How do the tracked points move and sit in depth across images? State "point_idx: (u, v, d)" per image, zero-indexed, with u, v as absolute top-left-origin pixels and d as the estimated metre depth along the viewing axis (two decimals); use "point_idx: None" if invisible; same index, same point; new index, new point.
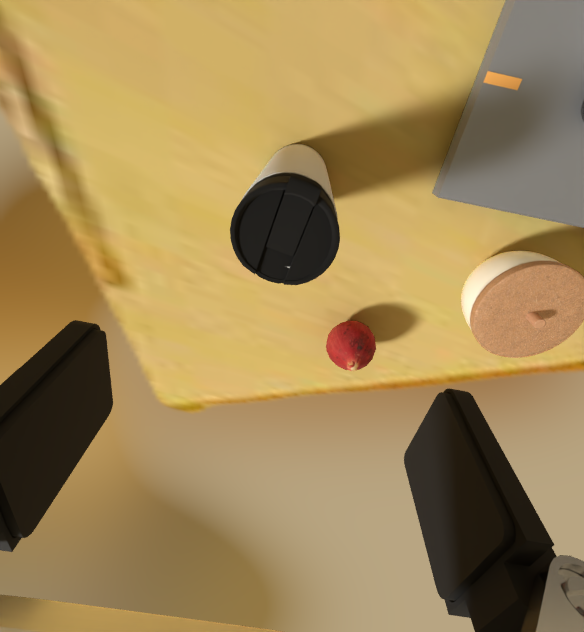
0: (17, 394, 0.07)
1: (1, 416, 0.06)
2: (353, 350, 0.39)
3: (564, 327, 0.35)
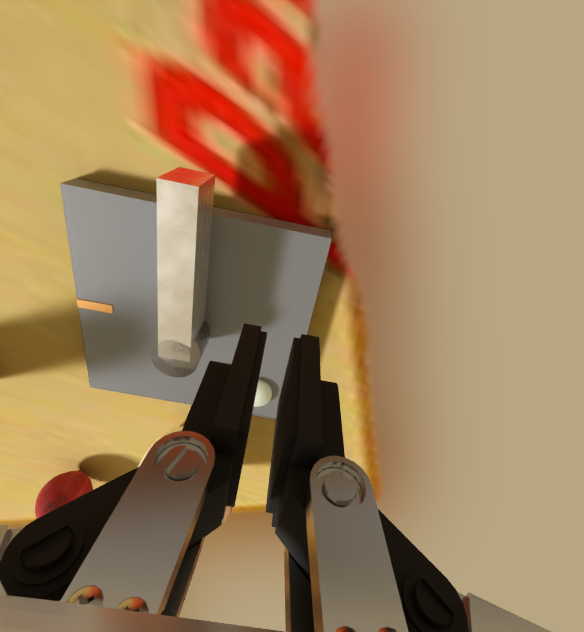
0: (243, 385, 0.08)
1: (244, 403, 0.07)
2: None
3: None
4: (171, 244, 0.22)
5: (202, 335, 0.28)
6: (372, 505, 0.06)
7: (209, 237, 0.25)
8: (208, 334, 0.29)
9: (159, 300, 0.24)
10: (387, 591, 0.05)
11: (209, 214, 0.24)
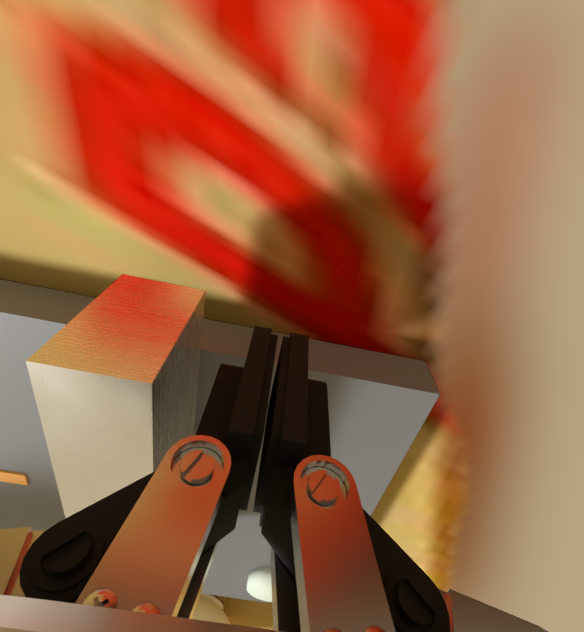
0: (256, 389, 0.08)
1: (258, 406, 0.07)
2: None
3: None
4: (93, 485, 0.09)
5: None
6: (356, 503, 0.06)
7: (194, 403, 0.12)
8: None
9: None
10: (367, 591, 0.05)
11: (192, 373, 0.11)
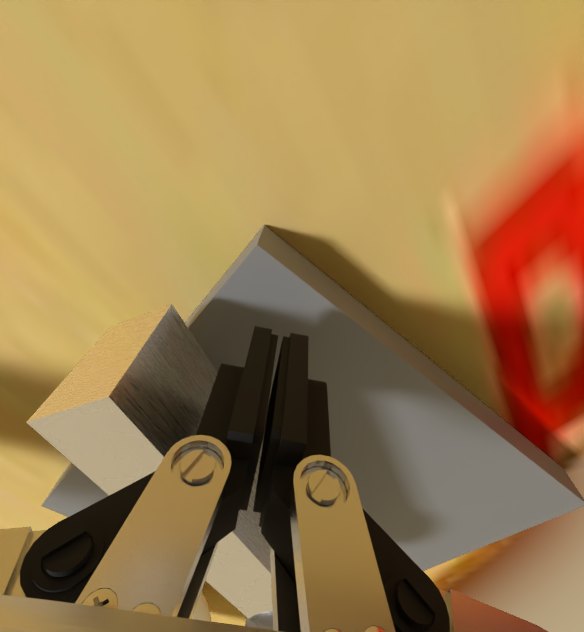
0: (256, 389, 0.08)
1: (258, 407, 0.07)
2: None
3: None
4: None
5: None
6: (356, 503, 0.06)
7: None
8: None
9: None
10: (367, 591, 0.05)
11: (203, 379, 0.11)
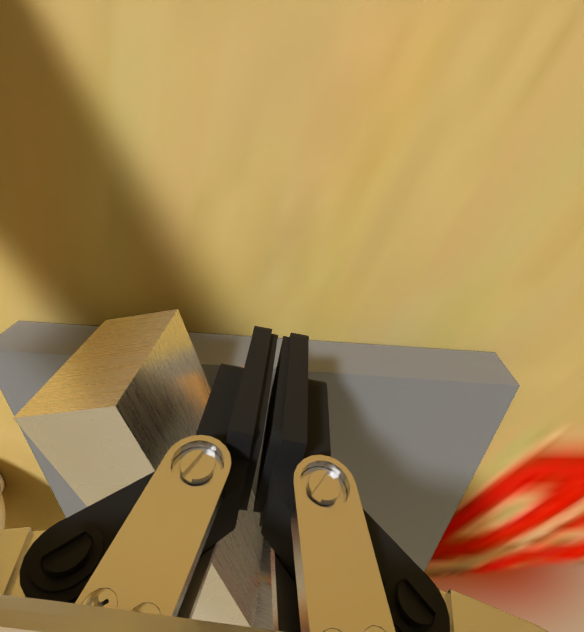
0: (256, 389, 0.08)
1: (258, 407, 0.07)
2: None
3: None
4: None
5: (269, 565, 0.15)
6: (356, 503, 0.06)
7: None
8: None
9: None
10: (367, 591, 0.05)
11: (196, 389, 0.11)
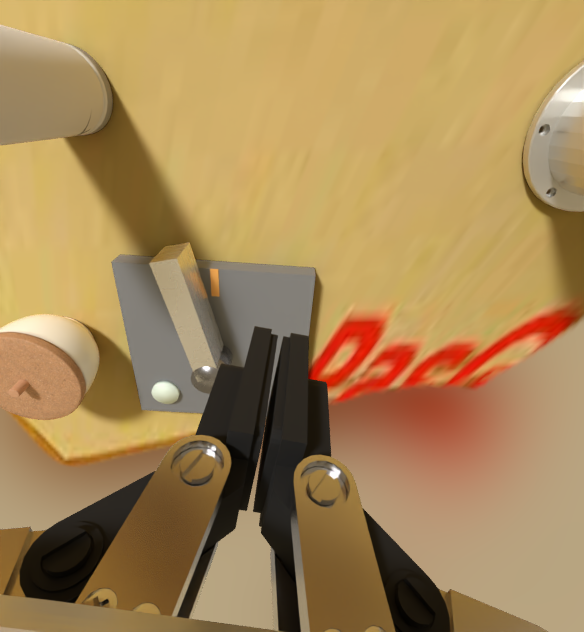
0: (256, 389, 0.08)
1: (258, 407, 0.07)
2: None
3: (30, 410, 0.36)
4: (175, 301, 0.31)
5: (224, 356, 0.37)
6: (356, 503, 0.06)
7: (202, 285, 0.34)
8: (229, 354, 0.38)
9: (182, 342, 0.33)
10: (367, 591, 0.05)
11: (195, 270, 0.33)
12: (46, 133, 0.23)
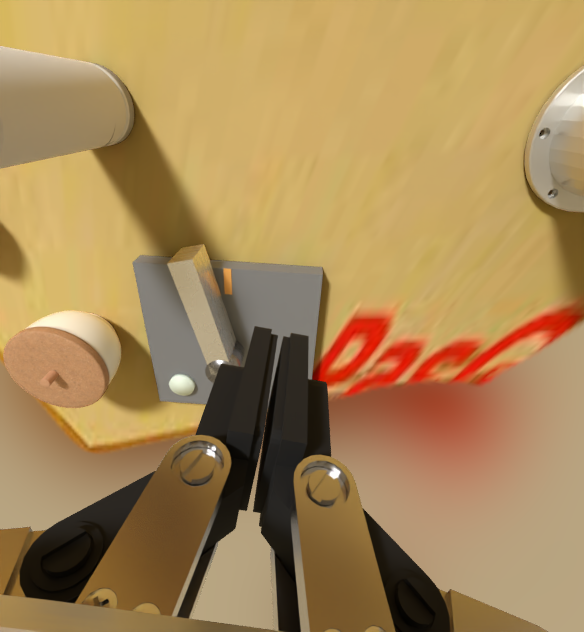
0: (256, 389, 0.08)
1: (258, 407, 0.07)
2: None
3: (59, 399, 0.40)
4: (190, 299, 0.33)
5: (236, 351, 0.39)
6: (356, 503, 0.06)
7: (216, 284, 0.36)
8: (242, 349, 0.40)
9: (197, 336, 0.35)
10: (367, 591, 0.05)
11: (209, 270, 0.35)
12: (76, 147, 0.26)
